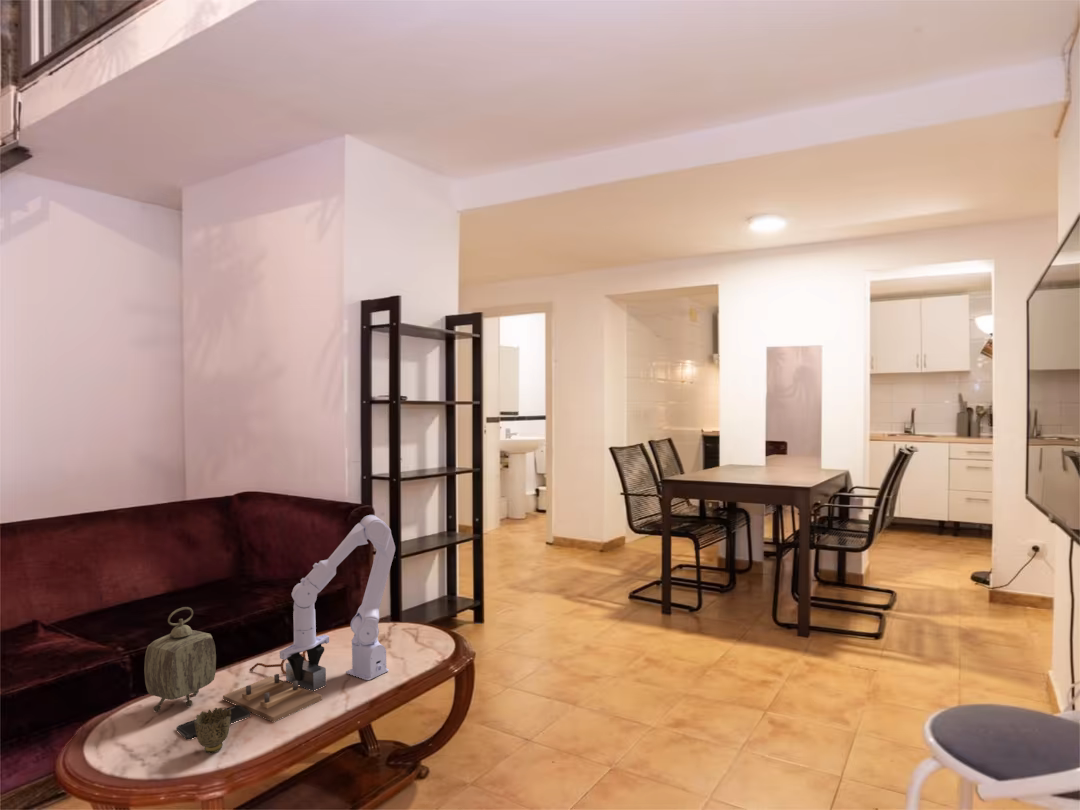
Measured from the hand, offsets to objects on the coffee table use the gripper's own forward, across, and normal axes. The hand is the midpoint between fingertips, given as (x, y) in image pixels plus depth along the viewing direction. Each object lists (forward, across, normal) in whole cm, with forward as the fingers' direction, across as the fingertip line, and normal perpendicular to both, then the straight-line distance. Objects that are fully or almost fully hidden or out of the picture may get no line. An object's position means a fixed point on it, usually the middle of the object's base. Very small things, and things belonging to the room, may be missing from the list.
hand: (305, 676), depth 183 cm
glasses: (+3, -5, -17) cm, 18 cm away
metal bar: (+2, 0, 0) cm, 2 cm away
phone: (+2, +26, 0) cm, 26 cm away
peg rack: (+2, +11, +1) cm, 11 cm away
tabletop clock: (+2, +25, -16) cm, 30 cm away
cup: (+2, +33, +12) cm, 35 cm away
